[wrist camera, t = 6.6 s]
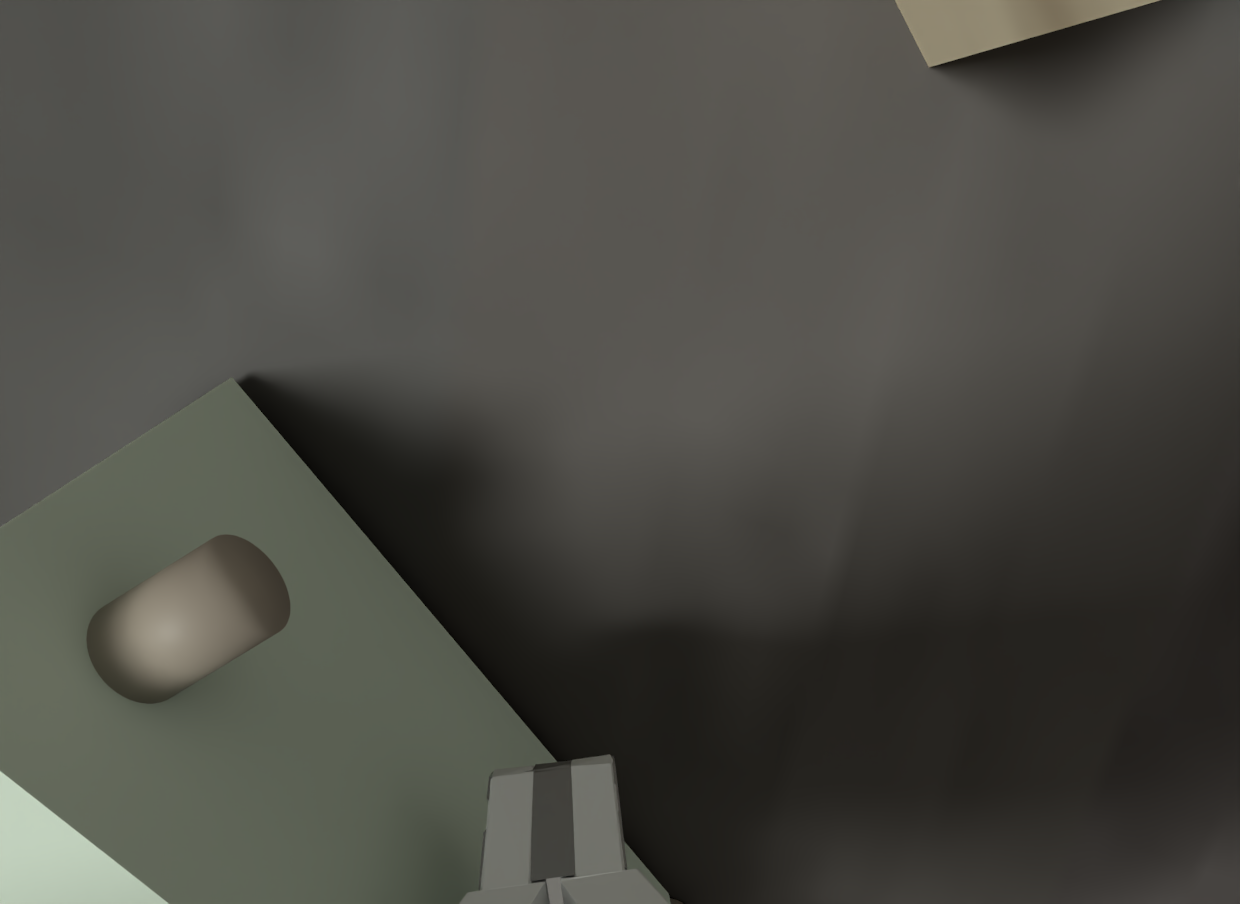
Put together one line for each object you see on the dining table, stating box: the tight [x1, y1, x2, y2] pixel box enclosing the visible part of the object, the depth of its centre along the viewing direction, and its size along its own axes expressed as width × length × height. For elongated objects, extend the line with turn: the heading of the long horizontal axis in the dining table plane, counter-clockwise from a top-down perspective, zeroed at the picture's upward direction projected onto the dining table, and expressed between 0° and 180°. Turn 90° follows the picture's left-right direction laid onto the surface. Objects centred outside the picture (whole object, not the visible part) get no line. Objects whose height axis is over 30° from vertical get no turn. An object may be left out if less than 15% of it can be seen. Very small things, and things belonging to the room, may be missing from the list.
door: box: [0, 377, 671, 904], centre depth 10 cm, size 13×3×6 cm, turn 31°
